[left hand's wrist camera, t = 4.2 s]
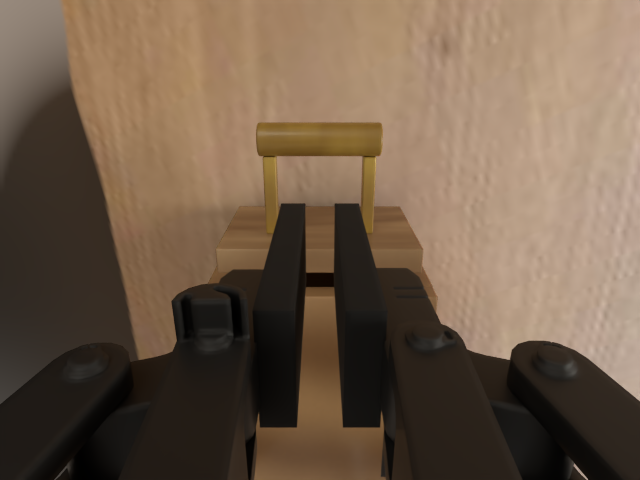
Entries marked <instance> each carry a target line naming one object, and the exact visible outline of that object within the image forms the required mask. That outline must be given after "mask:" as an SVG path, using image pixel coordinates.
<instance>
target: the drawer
mask: <svg viewBox="0 0 640 480" xmlns="http://www.w3.org/2000/svg"><path fill="white" fill-rule="evenodd" d="M256 144H257V152H258V155H259V156H264V157H263V172H264V193H265V207H239V209H238V210H237V212H236V214H235V216H234V218H233V219H232V221H231V223H230V225H229V227H228V228H227V230H226V232H225V234H224V236H223V237H222V239H221V241H220V243H219V245H218V246H217V248H216V259H217V270H218V273H229V272H230V271H231V270H233V269H264V266H265V262H266V258H267V255H268V251H269V247H270V244H271V240H272V236H273V233H274V229H275V225H276V222H277V218H278V214H279V210H280V207H278V182H277V156H363V158H362V187H361V207H360V210H361V214H362V218H363V222H364V225H365V229H366V233H367V236H368V240H369V244H370V247H371V251H372V255H373V258H374V262H375V266H376V268H408V269H409V270H411V271H412V272H413V273H421V271H422V260H423V248H422V246H421V244H420V243H419V241H418V239H417V237H416V235H415V234H414V232H413V230H412V228H411V226H410V224H409V223H408V221H407V219H406V217H405V215H404V214H403V212H402V210H401V208H400V207H374V196H375V175H376V157H375V156H380V155H381V152H382V145H383V129H382V124H381V123H258V124H257V129H256ZM305 221H306V287H334V222H335V207H305Z"/></svg>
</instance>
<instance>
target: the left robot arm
mask: <svg viewBox="0 0 640 480" xmlns="http://www.w3.org/2000/svg"><path fill="white" fill-rule="evenodd" d="M305 293H306V221H305V204H281V207H280V210H279V214H278V218H277V222H276V225H275V229H274V233H273V236H272V240H271V244H270V247H269V251H268V255H267V258H266V262H265V266H264V269H233V270H231V271H230V272H229V273H227V274H226V275H225V276H223V277H222V278H221V279H220V281H219V283H212V284H203V285H199V286H195V287H192V288H188V289H187V290H185V291H183V292H181V293H179V294H178V295H177V296H176V297H175V298H174V299H173V300H172V309H173V316H174V323H175V330H176V337H177V342H176V345H175V347H174V349H173V352H170V353H168V354H165V355H161V356H158V357H154V358H149V359H144V360H139V361H134V362H130V358H129V353H128V351H127V350H126V349H125V348H124V347H123V346H120V345H117V344H113V343H93V344H89V345H88V344H87V345H83V346H80V347H78V348H76V349H73V350H70V351H68V352H66V353H64V354H63V355H61V356H59V357H58V358H56V359H55V360H53V361H52V362H51V363H50V364H48V365H47V366H46V367H45V368H44V369H42V370H41V371H40V372H39V373H38V374H36V375H35V376H34V377H33V378H32V379H30V380H29V381H28V382H27V383H26V384H24V385H23V386H22V387H21V388H20V389H18V390H17V391H16V392H15V393H13V394H12V395H11V396H10V397H9V398H7V399H6V400H5V401H4V402H3V403H1V404H0V480H54V479H55V478H56V477H57V476H58V475H59V473H60V472H61V471H62V470H63V469H64V467H65V466H66V465H67V469H66V470H65V471H64V472H63V473H62V474H61V476H60V477H58V478H57V479H56V480H254V476H255V466H256V456H257V435H256V425H257V419H258V414H259V423H260V428H297V421H298V405H299V389H300V373H301V357H302V341H303V325H304V309H305ZM334 293H335V309H336V325H337V341H338V357H339V373H340V389H341V404H342V420H343V428H380V423H381V411H382V417H383V423H384V435H383V450H382V465H381V477H386V480H586V479H585V478H584V477H583V476H582V475H581V474H580V473H579V472H578V471H577V470H576V468H575V467H574V466H573V465H574V463H575V464H576V466H577V467H578V468H579V469H580V470H581V471H582V473H583V474H584V475H585V476H586V477H587V478H588V480H640V401H639V400H637V399H636V398H635V397H634V396H633V395H631V394H630V393H629V392H628V391H626V390H625V389H624V388H623V387H622V386H620V385H619V384H618V383H617V382H616V381H614V380H613V379H612V378H611V377H609V376H608V375H607V374H606V373H605V372H603V371H602V370H601V369H600V368H599V367H597V366H596V365H595V364H594V363H592V362H591V361H590V360H589V359H588V358H586V357H584V356H583V355H581V354H580V353H578V352H577V351H575V350H573V349H570V348H568V347H565V346H563V345H561V344H558V343H554V342H552V343H551V342H549V341H527V342H523V343H520V344H518V345H517V346H516V347H515V348H514V349H512V352H511V358H510V360H506V359H501V358H496V357H491V356H486V355H482V354H478V353H475V352H472V351H470V350H467V349H466V346H465V344H464V342H463V340H462V338H461V337H460V336H459V335H458V333H457V332H455V331H454V330H452V329H451V328H449V327H447V326H445V325H442V324H441V323H440V321H439V319H438V316H437V314H436V312H435V310H434V308H433V306H432V303H431V301H430V299H429V298H428V295H427V293H426V290H425V289H424V286H423V284H422V282H421V279H420V277H419V276H417V275H416V274H415V273H413V272H412V271H411V270H409V269H408V268H376V266H375V262H374V258H373V255H372V251H371V247H370V244H369V240H368V236H367V233H366V229H365V225H364V222H363V218H362V214H361V210H360V207H359V204H335V222H334Z"/></svg>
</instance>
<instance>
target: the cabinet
mask: <svg viewBox="0 0 640 480" xmlns="http://www.w3.org/2000/svg"><path fill="white" fill-rule="evenodd" d="M226 274H227V273H218V270H217V267H216V269H215V271H214V273H213V275H212V277H211V279H210V281H209V283H208V284H212V283H219V281H220V279H221V278H222V277H223V276H225V275H226ZM415 274H416V275H417V276H419V277H420V279H421V282H422V284H423V286H424V289H425V290H426V293H427V295H428V298H429V299H430V301H431V303H432V306H433V308H434V310H435V312H436V309H437V300H438V298H437V295H436V293H435V291H434V289H433V288H432V284H431V282H430V280H429V278H428V276H427V274H426V272H425V270H424V268H423V266H422V271H421V273H415ZM256 435H257V456H256V466H255V476H254V480H386V477H381V465H382V450H383V435H384V423H383V417H382V411H381V423H380V428H343V420H342V404H341V389H340V373H339V357H338V341H337V325H336V309H335V293H334V287H306V293H305V309H304V325H303V341H302V357H301V373H300V389H299V405H298V421H297V428H260V423H259V414H258V419H257V425H256Z"/></svg>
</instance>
